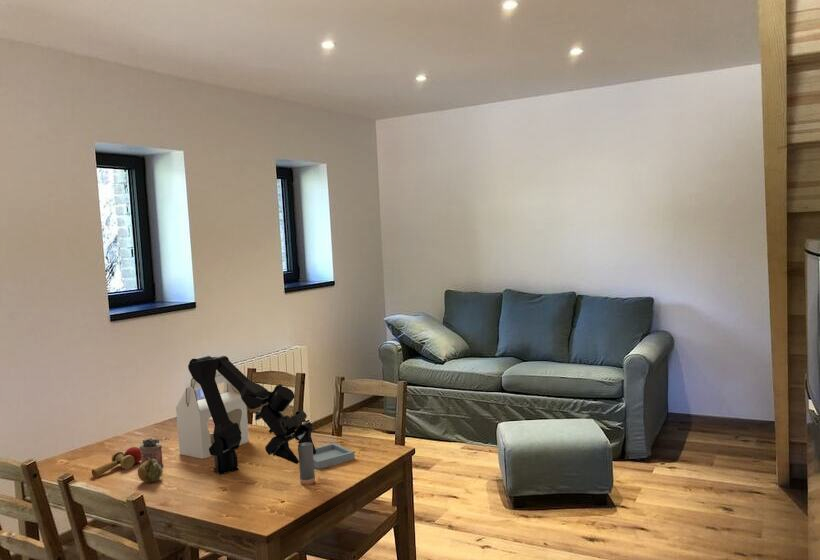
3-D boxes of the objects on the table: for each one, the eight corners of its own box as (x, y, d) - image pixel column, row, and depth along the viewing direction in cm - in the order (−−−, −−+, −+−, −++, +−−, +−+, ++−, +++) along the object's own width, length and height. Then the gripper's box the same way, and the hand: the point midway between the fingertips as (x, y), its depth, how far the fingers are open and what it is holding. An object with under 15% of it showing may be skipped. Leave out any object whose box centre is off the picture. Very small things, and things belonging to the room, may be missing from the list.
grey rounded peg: (304, 486, 206) (301, 448, 205) (297, 482, 210) (295, 444, 209) (318, 482, 209) (315, 444, 208) (311, 478, 213) (308, 441, 212)
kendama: (103, 483, 223) (149, 459, 238) (97, 465, 222) (144, 442, 237) (91, 483, 227) (137, 460, 242) (85, 466, 227) (131, 443, 241)
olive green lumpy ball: (167, 476, 223) (166, 452, 222) (158, 485, 215) (155, 460, 214) (145, 476, 223) (143, 453, 222) (134, 486, 215) (132, 461, 214)
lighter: (139, 468, 232) (136, 440, 231) (145, 465, 235) (142, 437, 234) (159, 469, 230) (157, 440, 229) (165, 465, 233) (163, 437, 232)
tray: (318, 469, 221) (317, 461, 220) (298, 459, 232) (298, 452, 232) (354, 459, 229) (354, 451, 229) (334, 449, 240) (333, 442, 240)
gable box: (202, 459, 238) (196, 381, 236) (178, 454, 245) (172, 378, 243) (249, 441, 256) (244, 369, 254) (226, 437, 263) (220, 366, 261)
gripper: (270, 411, 202) (302, 451, 198) (306, 396, 218) (337, 433, 214) (251, 435, 206) (283, 474, 202) (288, 419, 223) (318, 454, 218)
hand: (306, 458), depth 209 cm, fingers open, 9 cm apart
